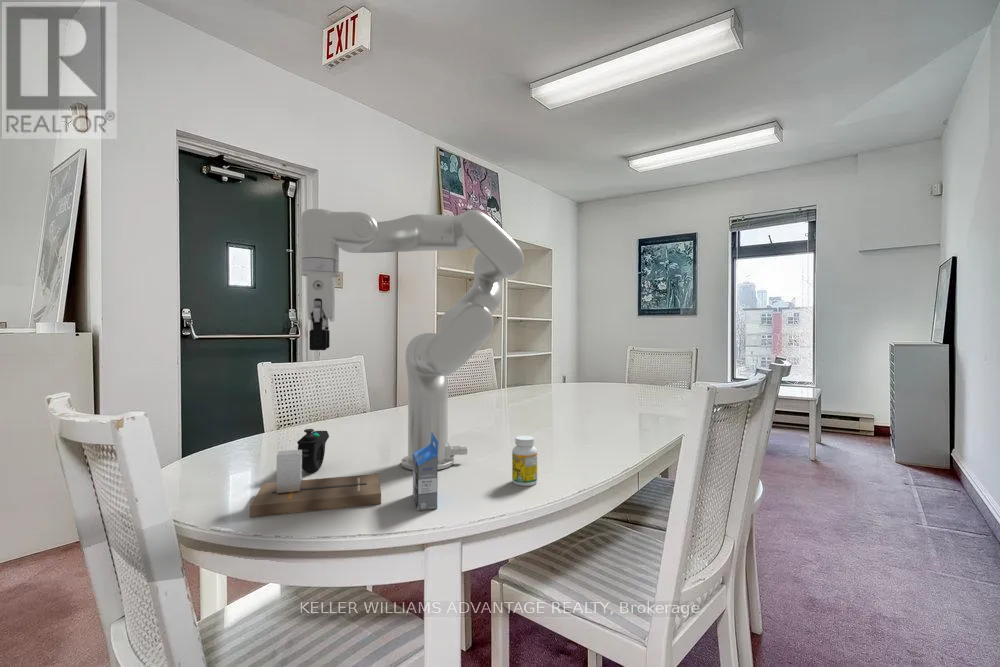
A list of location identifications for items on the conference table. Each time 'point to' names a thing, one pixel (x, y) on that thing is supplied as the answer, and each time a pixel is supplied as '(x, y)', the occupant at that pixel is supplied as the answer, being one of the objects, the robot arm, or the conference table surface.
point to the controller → (312, 449)
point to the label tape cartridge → (426, 476)
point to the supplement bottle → (524, 461)
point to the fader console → (318, 495)
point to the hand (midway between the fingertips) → (320, 349)
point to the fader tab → (289, 471)
